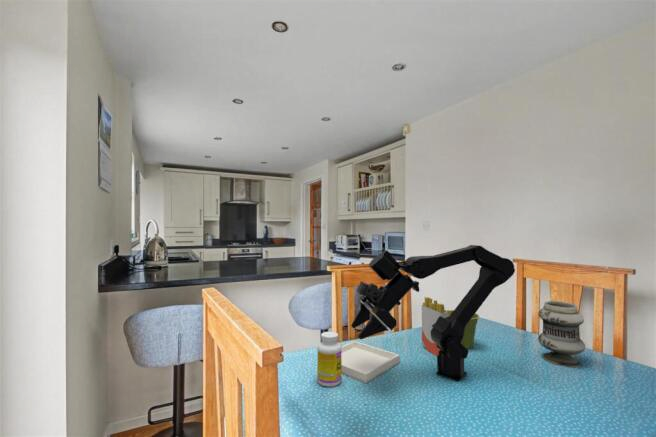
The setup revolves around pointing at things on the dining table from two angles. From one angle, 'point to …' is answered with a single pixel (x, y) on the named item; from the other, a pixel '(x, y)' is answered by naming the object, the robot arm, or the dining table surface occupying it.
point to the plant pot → (469, 332)
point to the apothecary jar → (561, 333)
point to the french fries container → (431, 322)
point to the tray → (366, 361)
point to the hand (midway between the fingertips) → (355, 332)
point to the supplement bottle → (329, 360)
